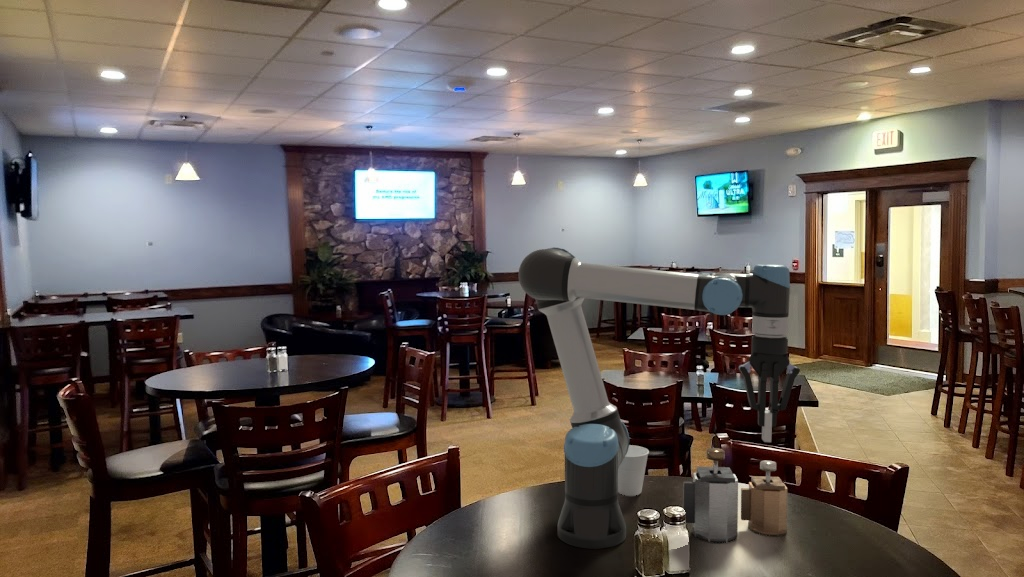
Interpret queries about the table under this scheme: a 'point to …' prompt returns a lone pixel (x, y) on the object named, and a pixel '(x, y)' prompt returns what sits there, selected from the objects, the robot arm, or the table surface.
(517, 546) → the table surface
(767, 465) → the grey press handle
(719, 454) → the steel plunger
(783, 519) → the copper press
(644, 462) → the cup
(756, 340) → the robot arm
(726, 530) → the steel press
